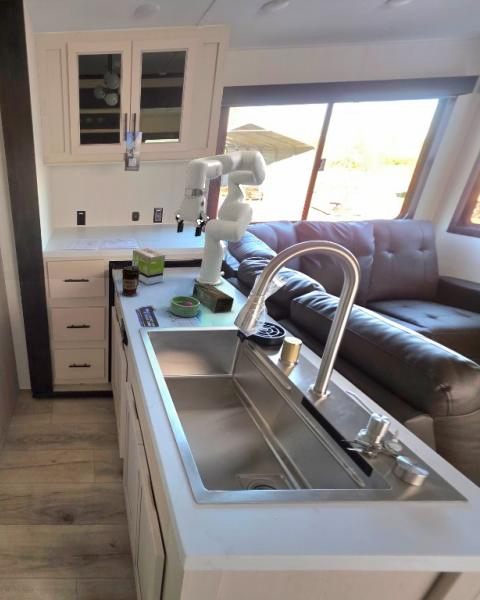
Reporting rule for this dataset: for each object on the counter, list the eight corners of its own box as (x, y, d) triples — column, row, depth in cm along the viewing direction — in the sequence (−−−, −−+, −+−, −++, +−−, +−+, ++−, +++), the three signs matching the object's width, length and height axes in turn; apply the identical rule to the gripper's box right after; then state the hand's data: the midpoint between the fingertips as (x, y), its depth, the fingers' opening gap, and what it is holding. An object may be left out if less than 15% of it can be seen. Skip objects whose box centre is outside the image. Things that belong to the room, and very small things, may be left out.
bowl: (182, 304, 138) (183, 293, 135) (203, 313, 129) (205, 302, 127) (163, 310, 132) (165, 299, 130) (185, 320, 123) (186, 309, 121)
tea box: (130, 276, 171) (132, 249, 165) (145, 273, 175) (148, 247, 169) (147, 285, 159) (149, 256, 153) (163, 282, 163) (166, 254, 157)
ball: (185, 303, 131) (192, 299, 128) (190, 312, 130) (197, 309, 127) (178, 305, 129) (185, 301, 126) (182, 315, 128) (190, 311, 125)
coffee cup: (138, 298, 144) (140, 271, 138) (120, 296, 145) (121, 270, 140) (138, 291, 152) (141, 265, 146) (121, 289, 153) (123, 264, 148)
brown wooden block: (207, 294, 147) (209, 281, 145) (232, 312, 130) (235, 297, 128) (191, 295, 146) (193, 282, 143) (215, 313, 129) (217, 299, 126)
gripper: (218, 194, 125) (211, 236, 132) (183, 191, 138) (178, 230, 145) (205, 195, 121) (199, 239, 128) (171, 191, 135) (167, 231, 142)
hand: (188, 234), depth 137 cm, fingers open, 9 cm apart
